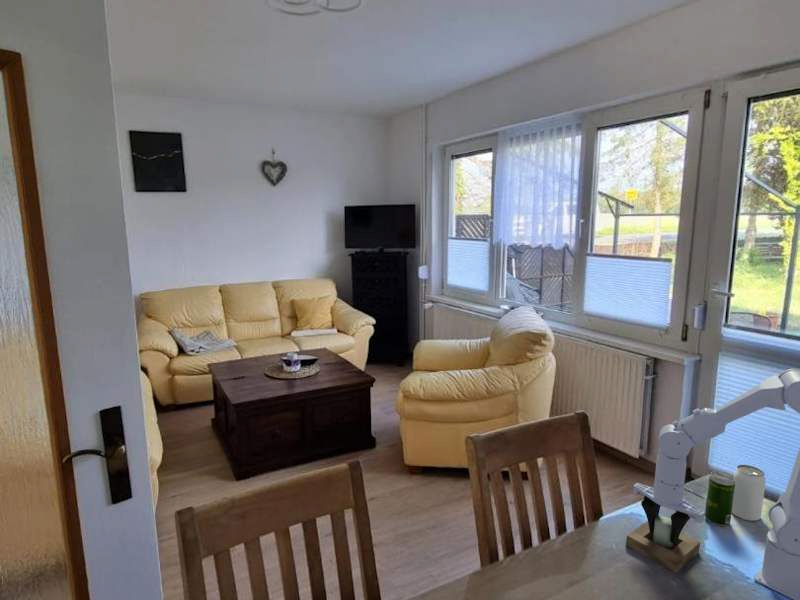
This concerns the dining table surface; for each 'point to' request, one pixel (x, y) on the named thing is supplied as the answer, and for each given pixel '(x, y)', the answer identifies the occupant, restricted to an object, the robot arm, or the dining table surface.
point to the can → (748, 492)
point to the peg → (662, 531)
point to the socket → (670, 559)
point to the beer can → (720, 498)
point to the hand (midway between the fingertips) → (663, 535)
